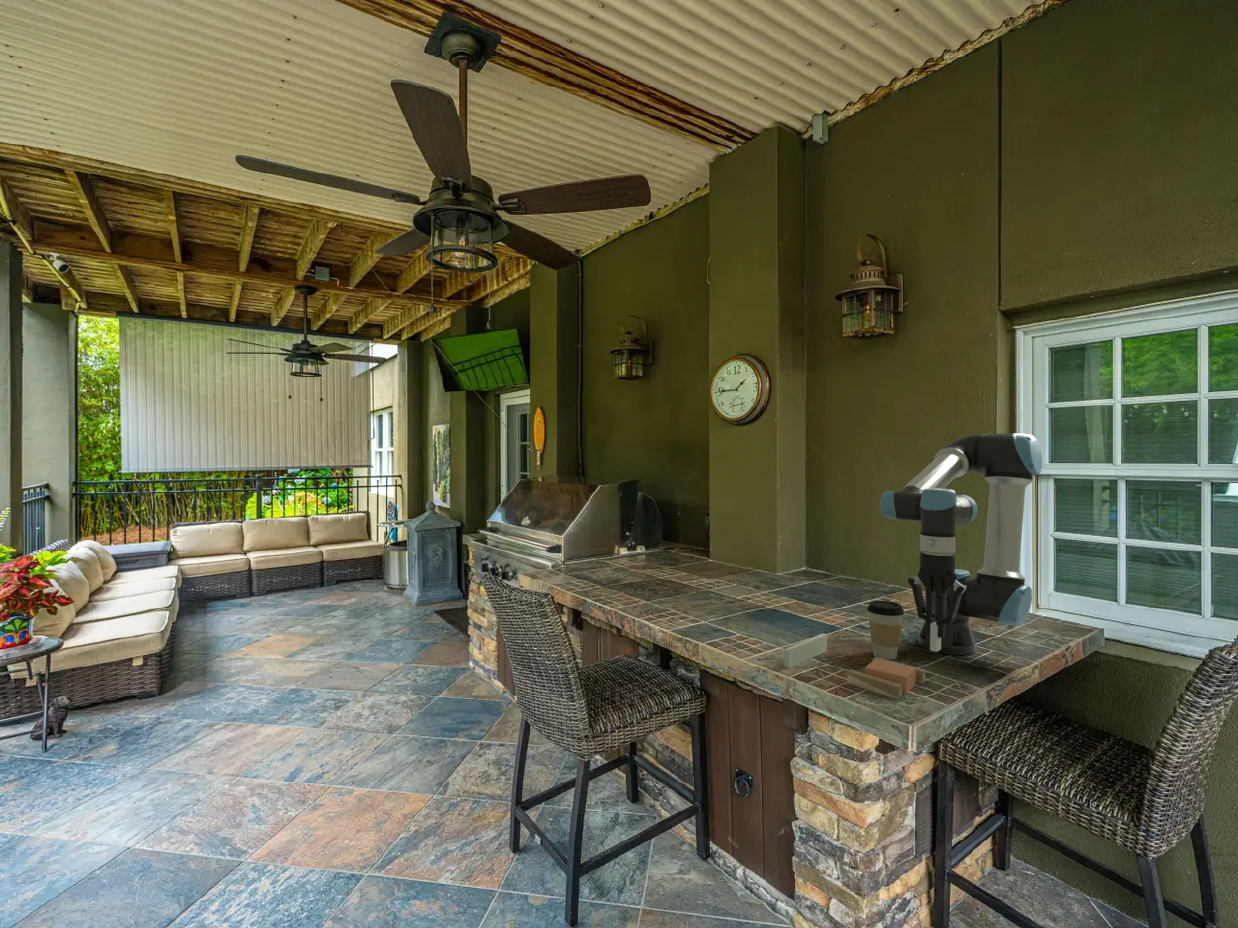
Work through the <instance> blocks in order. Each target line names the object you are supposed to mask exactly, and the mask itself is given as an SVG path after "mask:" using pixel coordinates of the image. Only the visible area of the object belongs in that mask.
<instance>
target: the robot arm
mask: <svg viewBox="0 0 1238 928" xmlns="http://www.w3.org/2000/svg"><path fill="white" fill-rule="evenodd" d="M1042 455H1043V454H1042V450H1041V447H1040V444H1039V441H1038V440H1037V438H1036V437H1035V436H1034V435H1032V434H1030V433H1029V434H1028V433H1016V432H1014V433H983V434H982V433H975V434H969V435H965V436H962V437H960V438H957V439H955V440H953V441H950V443H948V444H946V445H945V446H943V447H942V448H940V449H939V451H937V452H936V453H935V455H934V459H933V460H932V461H931V462H930V463H929V464H928V465H927V466H926V467H925V468H923V469H922V470H921V471H920V472H919V473H918V474H917V475H915V477H913V478H912V479H911V480H910V481H909V482H908V483H906V485H904V486H903V487H902V488H901V489H900V490H899V491H896V490H892V491H891V490H890V491H884V492H883V493H882V494H881V495H880V500H879V511H880V514H881V516H882V517H884V518H886V519H891V520H895V521H908V522H918V523H919V522H920V531H919V532H920V533H919V535H920V536H919V538H920V539H919V545H920V546H919V550H920V551H921V552H920V553H919V570H918V572H917V575H915V576H912V577H909V578H907V582H908V584H909V586H910V587H911V589H912V594H913V599H914V603H915V608H916V612H917V616H918V618H919V619H922V620H924V621H923V622H922V625H921V628H920V631H919V633H918V639H917V641H918V645H919V646H920V647H922V648H924V649H926V650H929V651H931V652H935V653H939V654H947V655H956V656H957V655H958V656H959V655H960V656H963V655H970V654H973V653H975V652H976V641H975V638H974V635H973V632H972V629H971V625H970V618H973V619H977V620H982V621H986V622H992V623H997V624H999V625H1008V626H1013V627H1014V626H1016V627H1017V626H1020V625H1022V624H1023V623H1024V622H1025V620H1026V619H1027V617H1028V615H1029V612H1030V609H1031V606H1032V601H1033V590H1032V588H1031V586H1029V585H1027V584H1026V578H1025V576H1024V575H1023V574H1022V573H1021V572H1020V561H1021V549H1022V547H1021V546H1022V538H1023V537H1022V535H1023V524H1024V522H1023V521H1024V513H1025V512H1024V509H1025V498H1026V488H1027V487H1028V486H1029V485H1030V484H1031V483H1033V479H1034V476H1038V475H1040V473H1041V472H1042V467H1043V457H1042ZM971 473H973V474H975V473H978V474H984V480H986V482H987V483H988V484H989V492H988V493H989V494H988V495H989V496H988V507H987V508H988V509H987V519H986V531H985V532H986V533H985V542H984V543H985V544H984V556H983V557H984V558H983V566H982V567H981V568H980V569H978V570H976V577H974V576H971V573H970V571H969V570H965V569H957V568H956V556H955V555H954V554H955V553H956V529H957V528H956V527H957V526H963V525H966V524H968V523H971V522H972V521H973V520H975V518H976V516H977V515H978V505H977V503H976V501H975V500H974V499H973V498H972V497H971V496H969V495H965V494H960V493H959V494H957V493H956V491H955V490H954V489H951V488H946V487H947V486H949V484H951V482H953V480H955V478H959V477H962V476H964V475H965V474H971ZM921 583H922V585H923V586H924V594H925V595H924V594H923V589H922V586H921Z"/></svg>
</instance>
